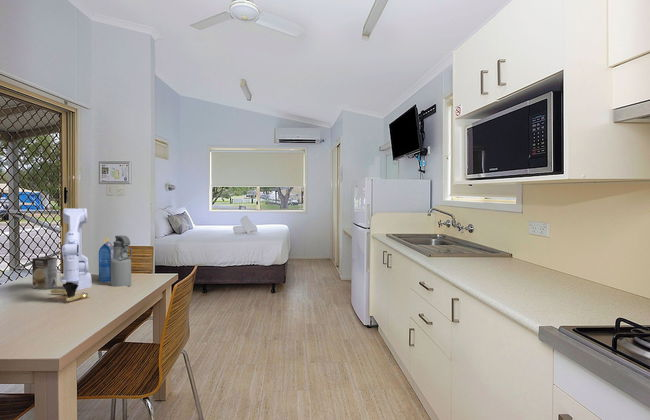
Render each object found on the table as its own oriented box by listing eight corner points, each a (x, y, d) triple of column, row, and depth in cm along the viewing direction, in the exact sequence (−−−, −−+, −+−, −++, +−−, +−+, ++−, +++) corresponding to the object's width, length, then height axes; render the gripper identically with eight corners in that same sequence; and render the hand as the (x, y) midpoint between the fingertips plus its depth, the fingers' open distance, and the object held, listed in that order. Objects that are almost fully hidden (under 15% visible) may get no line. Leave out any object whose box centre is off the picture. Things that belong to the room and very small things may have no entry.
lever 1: (76, 293, 172) (75, 288, 172) (70, 295, 168) (70, 291, 168) (54, 293, 172) (54, 288, 172) (47, 295, 168) (47, 290, 168)
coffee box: (31, 288, 185) (31, 258, 184) (42, 285, 191) (42, 256, 191) (47, 289, 184) (46, 259, 184) (57, 286, 191) (57, 257, 190)
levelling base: (70, 295, 173) (70, 292, 173) (90, 299, 166) (90, 296, 166) (47, 300, 164) (47, 297, 164) (67, 305, 157) (67, 302, 157)
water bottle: (135, 285, 194) (135, 235, 193) (119, 289, 185) (118, 237, 184) (123, 283, 198) (123, 234, 197) (106, 287, 189) (106, 236, 188)
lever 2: (82, 296, 168) (82, 291, 168) (89, 296, 167) (89, 292, 167) (62, 302, 157) (62, 297, 157) (70, 303, 157) (70, 298, 157)
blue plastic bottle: (98, 282, 200) (98, 239, 199) (102, 277, 211) (101, 236, 210) (111, 281, 202) (110, 238, 201) (114, 277, 213) (113, 236, 212)
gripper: (52, 269, 160) (52, 298, 160) (71, 272, 153) (71, 303, 154) (69, 266, 166) (69, 294, 167) (87, 269, 160) (87, 298, 160)
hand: (71, 298), depth 161 cm, fingers closed, pressing on lever 2
